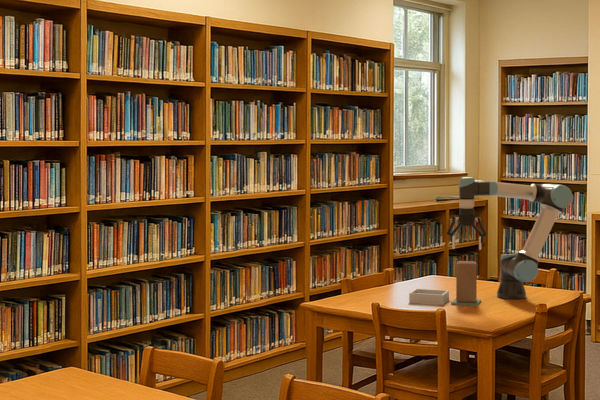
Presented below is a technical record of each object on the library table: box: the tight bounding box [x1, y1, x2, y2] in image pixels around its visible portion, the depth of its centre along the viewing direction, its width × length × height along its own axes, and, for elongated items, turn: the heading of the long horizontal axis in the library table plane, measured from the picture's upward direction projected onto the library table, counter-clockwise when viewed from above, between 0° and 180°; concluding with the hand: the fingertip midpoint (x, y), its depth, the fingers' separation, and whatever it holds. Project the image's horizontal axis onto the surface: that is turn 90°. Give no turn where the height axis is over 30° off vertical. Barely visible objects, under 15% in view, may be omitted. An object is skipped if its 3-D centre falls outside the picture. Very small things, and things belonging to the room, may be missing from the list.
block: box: [455, 260, 478, 303], centre depth 425 cm, size 10×10×20 cm
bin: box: [408, 288, 450, 306], centre depth 432 cm, size 18×15×5 cm
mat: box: [450, 298, 482, 307], centre depth 426 cm, size 13×13×1 cm
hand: (466, 249), depth 424 cm, fingers open, 13 cm apart
